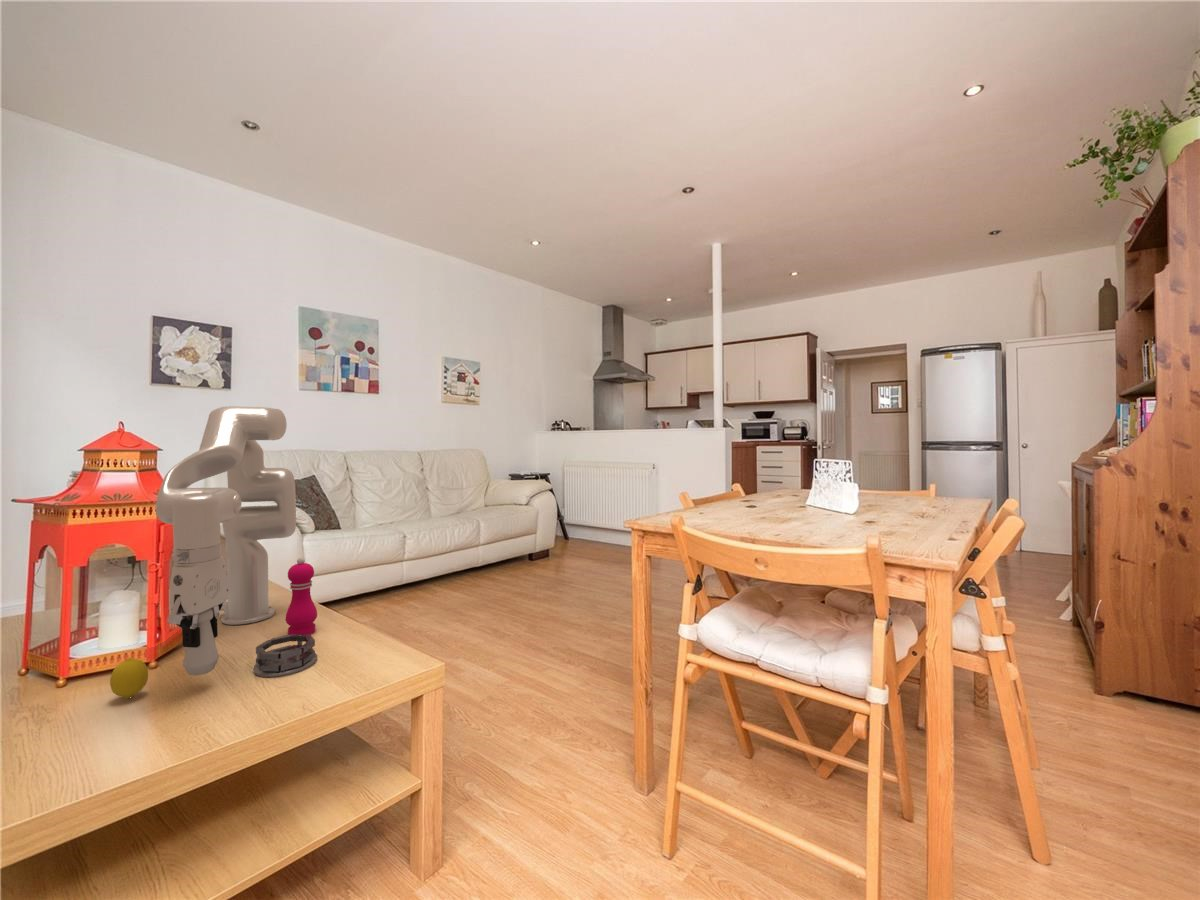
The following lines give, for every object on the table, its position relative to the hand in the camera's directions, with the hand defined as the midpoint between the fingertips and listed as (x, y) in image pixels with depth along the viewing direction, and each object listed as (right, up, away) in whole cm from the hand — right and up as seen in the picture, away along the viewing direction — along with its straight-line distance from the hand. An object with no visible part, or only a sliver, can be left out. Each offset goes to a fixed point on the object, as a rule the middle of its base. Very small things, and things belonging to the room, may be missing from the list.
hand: (200, 641), depth 105 cm
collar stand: (+11, -9, +11) cm, 18 cm away
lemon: (-11, -10, -4) cm, 15 cm away
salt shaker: (0, -6, 0) cm, 7 cm away
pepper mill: (+4, -9, +29) cm, 31 cm away
